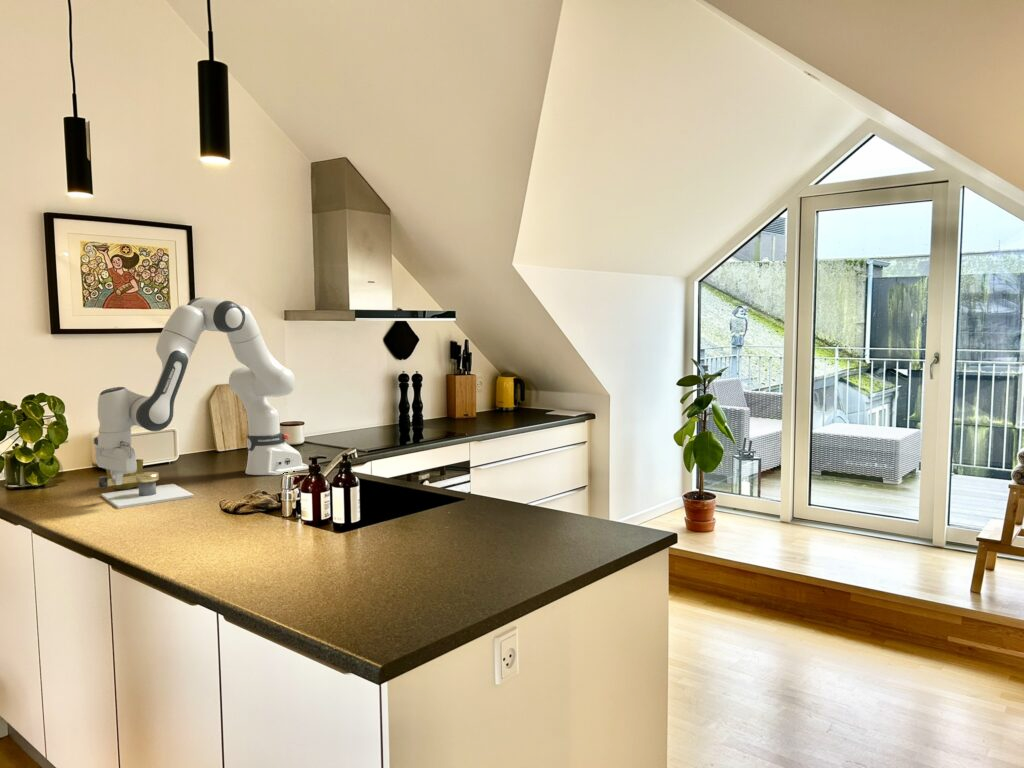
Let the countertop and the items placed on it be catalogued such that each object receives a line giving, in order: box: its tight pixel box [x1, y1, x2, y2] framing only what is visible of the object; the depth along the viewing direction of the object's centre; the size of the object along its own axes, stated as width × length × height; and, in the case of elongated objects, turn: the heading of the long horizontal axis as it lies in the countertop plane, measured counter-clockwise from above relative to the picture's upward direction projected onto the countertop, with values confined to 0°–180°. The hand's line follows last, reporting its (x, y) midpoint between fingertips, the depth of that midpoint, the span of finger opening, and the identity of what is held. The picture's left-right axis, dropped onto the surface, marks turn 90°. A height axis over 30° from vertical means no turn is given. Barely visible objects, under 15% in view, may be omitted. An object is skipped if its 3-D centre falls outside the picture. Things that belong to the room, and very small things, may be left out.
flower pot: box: [105, 458, 144, 490], centre depth 255 cm, size 9×9×9 cm
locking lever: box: [97, 471, 160, 488], centre depth 238 cm, size 17×7×3 cm, turn 131°
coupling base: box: [101, 481, 195, 510], centre depth 242 cm, size 22×22×5 cm
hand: (117, 484), depth 234 cm, fingers closed
